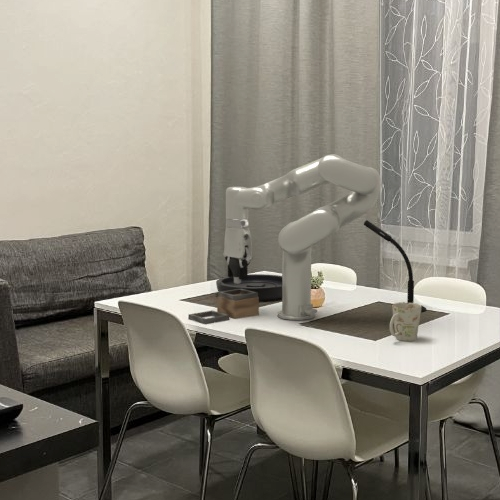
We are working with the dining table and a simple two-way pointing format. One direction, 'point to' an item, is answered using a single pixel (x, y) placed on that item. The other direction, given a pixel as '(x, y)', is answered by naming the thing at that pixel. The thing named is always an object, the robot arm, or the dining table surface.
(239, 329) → the dining table surface
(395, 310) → the mug
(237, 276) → the light bulb
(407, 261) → the microphone
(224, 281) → the round tray
